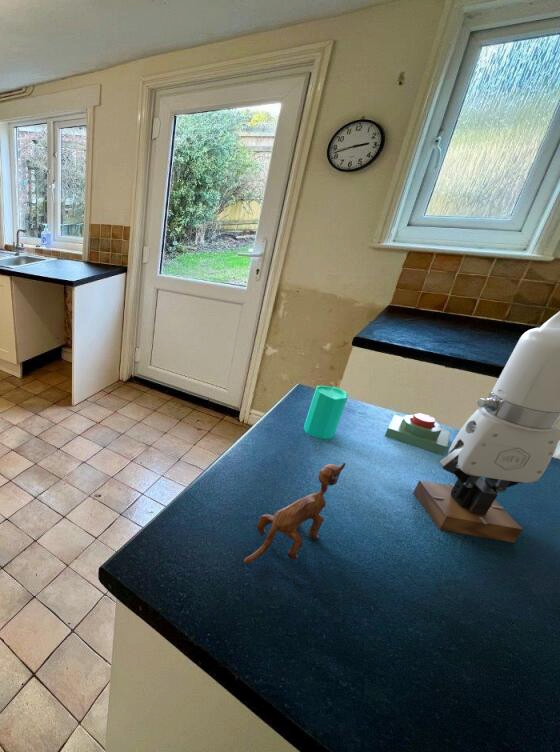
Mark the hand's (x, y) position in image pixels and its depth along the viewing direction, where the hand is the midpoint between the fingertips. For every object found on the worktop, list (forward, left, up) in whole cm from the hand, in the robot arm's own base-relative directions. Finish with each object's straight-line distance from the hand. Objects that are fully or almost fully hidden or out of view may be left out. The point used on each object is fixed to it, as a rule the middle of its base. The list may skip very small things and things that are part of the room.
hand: (467, 502), depth 70 cm
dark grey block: (0, 0, 0) cm, 0 cm away
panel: (0, 0, -3) cm, 3 cm away
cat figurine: (+31, +15, -3) cm, 35 cm away
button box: (-4, -25, -3) cm, 26 cm away
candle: (+16, -22, -3) cm, 27 cm away
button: (-4, -25, 0) cm, 25 cm away
